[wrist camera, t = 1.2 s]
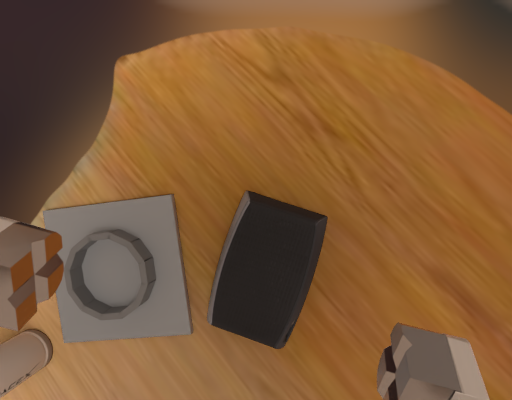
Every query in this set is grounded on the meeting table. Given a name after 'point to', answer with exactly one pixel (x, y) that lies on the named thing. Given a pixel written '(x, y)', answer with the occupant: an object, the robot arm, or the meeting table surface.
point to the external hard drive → (265, 269)
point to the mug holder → (121, 270)
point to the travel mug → (22, 358)
